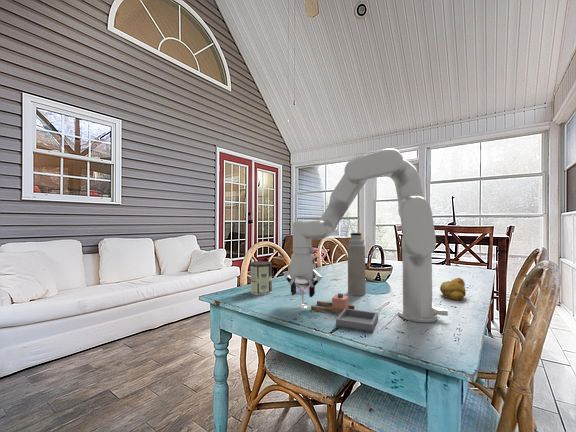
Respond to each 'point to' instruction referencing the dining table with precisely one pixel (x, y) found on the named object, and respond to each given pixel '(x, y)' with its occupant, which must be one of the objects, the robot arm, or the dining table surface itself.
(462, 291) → the bread roll
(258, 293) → the coffee can
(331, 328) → the dining table surface
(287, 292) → the dining table surface
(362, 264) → the thermos bottle
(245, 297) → the dining table surface
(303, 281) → the wineglass
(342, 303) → the piston block
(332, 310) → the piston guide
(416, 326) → the dining table surface
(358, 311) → the tray
